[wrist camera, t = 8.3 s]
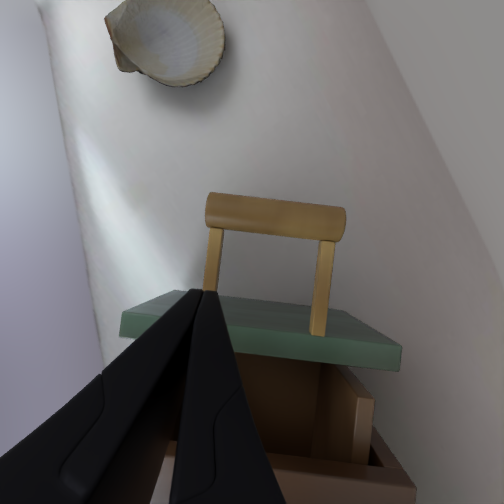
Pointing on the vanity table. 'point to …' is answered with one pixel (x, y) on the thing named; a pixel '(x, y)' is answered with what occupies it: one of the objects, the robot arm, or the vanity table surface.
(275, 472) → the cabinet
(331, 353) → the drawer
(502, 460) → the vanity table surface
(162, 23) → the seashell
